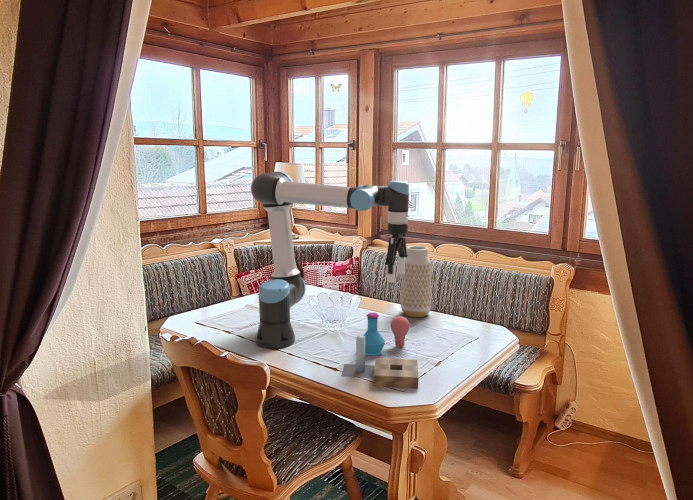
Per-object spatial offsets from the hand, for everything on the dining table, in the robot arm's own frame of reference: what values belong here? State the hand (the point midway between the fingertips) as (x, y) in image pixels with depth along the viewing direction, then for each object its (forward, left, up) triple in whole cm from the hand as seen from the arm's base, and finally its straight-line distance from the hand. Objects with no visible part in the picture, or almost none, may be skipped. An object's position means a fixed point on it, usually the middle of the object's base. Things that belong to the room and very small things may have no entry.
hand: (396, 277), depth 202 cm
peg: (-11, -30, -25) cm, 40 cm away
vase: (+9, +34, -26) cm, 44 cm away
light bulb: (+2, -6, -26) cm, 26 cm away
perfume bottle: (-8, -13, -26) cm, 30 cm away
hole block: (+1, -34, -26) cm, 42 cm away
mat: (-11, -30, -26) cm, 41 cm away
